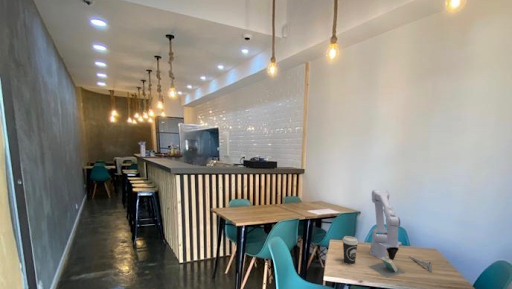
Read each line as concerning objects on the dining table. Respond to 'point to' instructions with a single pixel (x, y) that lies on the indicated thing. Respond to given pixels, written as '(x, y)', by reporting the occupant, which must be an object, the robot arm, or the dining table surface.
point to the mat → (385, 270)
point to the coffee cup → (349, 249)
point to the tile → (389, 264)
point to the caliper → (424, 263)
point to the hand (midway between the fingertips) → (391, 259)
